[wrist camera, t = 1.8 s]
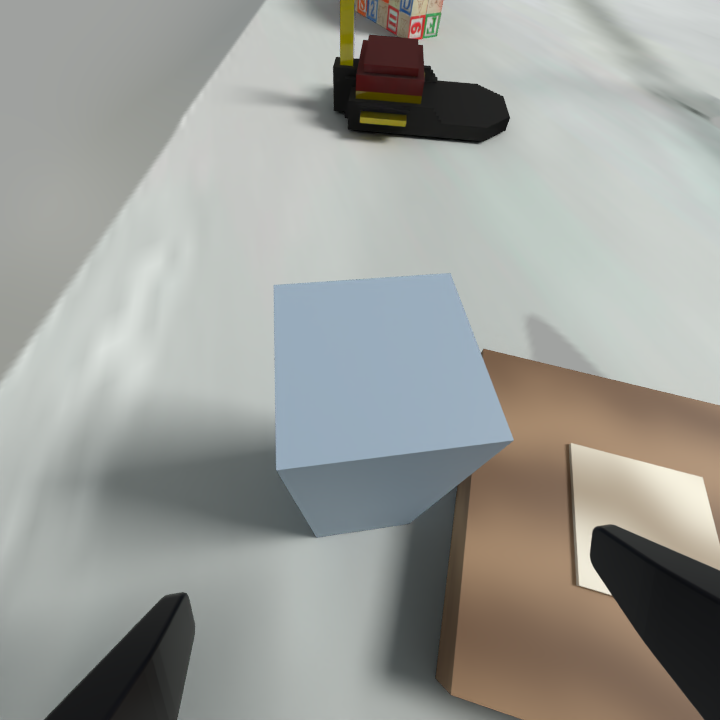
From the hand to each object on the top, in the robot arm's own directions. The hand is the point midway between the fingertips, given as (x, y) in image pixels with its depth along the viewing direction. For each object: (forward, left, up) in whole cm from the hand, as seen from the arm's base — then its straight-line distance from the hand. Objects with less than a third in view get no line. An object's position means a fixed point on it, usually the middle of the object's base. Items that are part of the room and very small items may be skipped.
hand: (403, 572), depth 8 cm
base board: (+9, -9, -11) cm, 17 cm away
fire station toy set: (+42, +23, -11) cm, 49 cm away
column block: (+3, +3, -11) cm, 12 cm away
